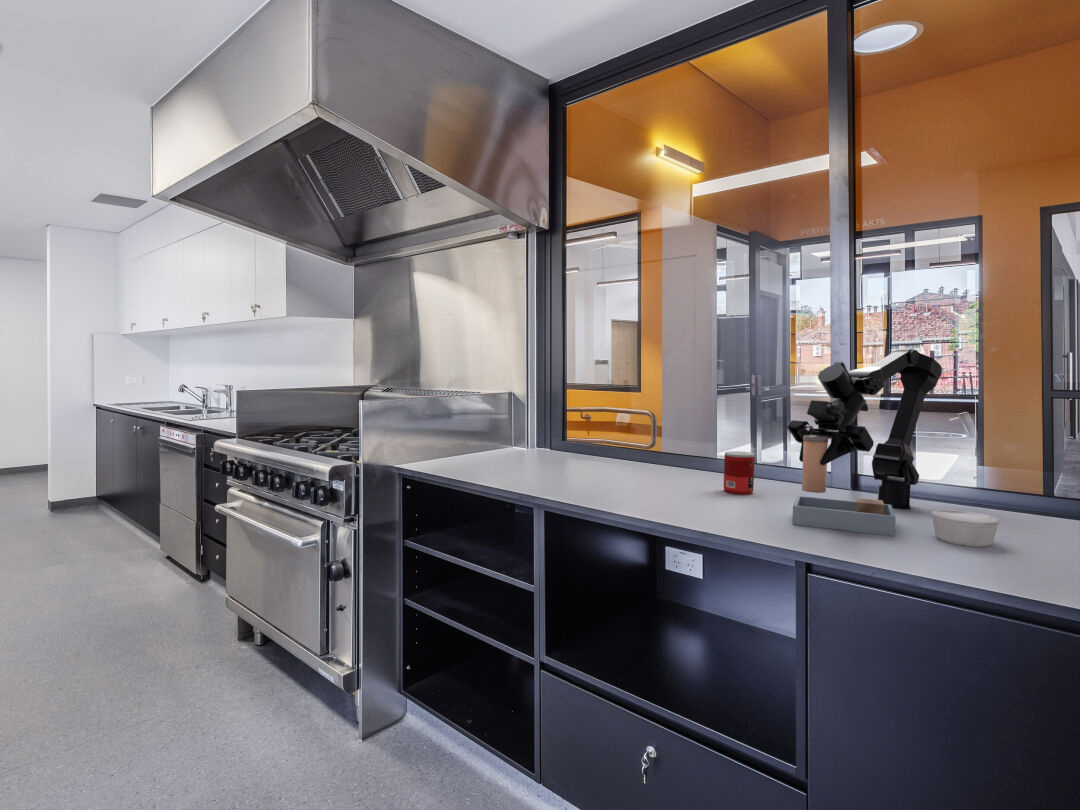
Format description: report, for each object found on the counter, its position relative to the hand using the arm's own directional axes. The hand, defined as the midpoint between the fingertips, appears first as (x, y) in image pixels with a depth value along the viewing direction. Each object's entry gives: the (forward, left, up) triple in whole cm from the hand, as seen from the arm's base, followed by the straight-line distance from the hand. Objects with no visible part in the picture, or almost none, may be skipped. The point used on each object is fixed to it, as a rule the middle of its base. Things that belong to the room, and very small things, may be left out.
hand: (810, 462), depth 135 cm
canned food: (+19, -26, -14) cm, 35 cm away
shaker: (-1, -1, -7) cm, 7 cm away
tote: (-7, -1, -13) cm, 15 cm away
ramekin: (-29, +2, -14) cm, 32 cm away
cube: (-12, -1, -13) cm, 18 cm away
